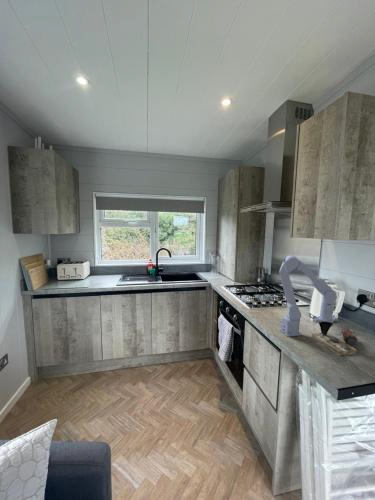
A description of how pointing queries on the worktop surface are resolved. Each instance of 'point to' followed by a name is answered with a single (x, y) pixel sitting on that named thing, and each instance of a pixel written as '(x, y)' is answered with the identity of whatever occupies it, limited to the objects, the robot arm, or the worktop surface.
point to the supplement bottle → (349, 337)
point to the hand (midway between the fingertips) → (323, 334)
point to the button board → (333, 344)
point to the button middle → (334, 339)
